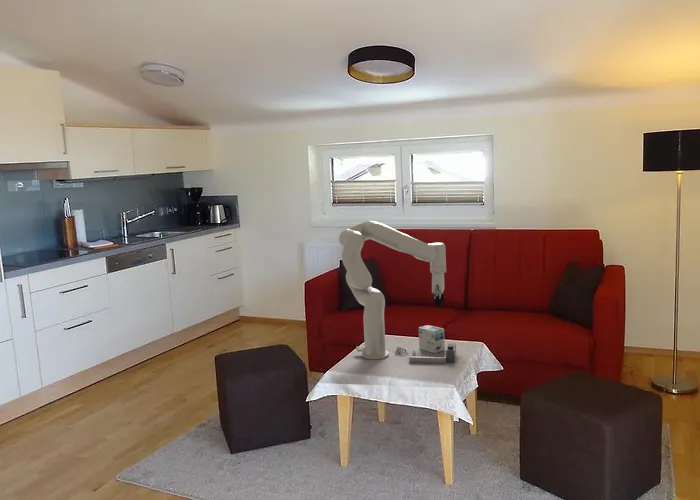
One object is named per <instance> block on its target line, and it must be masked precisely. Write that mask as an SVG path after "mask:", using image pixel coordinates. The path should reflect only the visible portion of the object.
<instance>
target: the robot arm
mask: <svg viewBox="0 0 700 500" xmlns="http://www.w3.org/2000/svg"><path fill="white" fill-rule="evenodd" d="M369 240H372V241H374V242H376V243H379V244H380V245H383V246H385V247H388V248H389V249H393V250H395V251H397V252H401V253H405V254H408V255H411V256H412V257H414V258H415V259H417V260H420V261H424V262H426V263H427V262H428V263H429V272H430V273H431V294H434V300H433V301H434V307H437V308H438V307H439V308H441V307H442V303H444V302H445V293H444V291H445V273H447V259H446V258H447V257H446V255H447V254H446V253H447V251H446V244H445V243H444V242H431V243H427V242H424V241H422V240H419V239H417V238H414V237H413V236H410V235H409V234H406V233H403V232H401V231H399V230H397V229H395V228H393V227H390V226H388V225H386V224H384V223H381V222H379V221H374V220H367V221H365V222H362V223H359V224H357V225H354V226H351V227H348V228H346V229H343V230H342V231H341V232H340V234H339V237H338V241H339V243H340V245H341V246H342V247H343V248H342V254H341V260H342V261H341V262H342V265H343V266H344V268H345V270H346V273H345V281H346V283H347V286H348V287H349V289H350V290H351V292H352V294H353V296H354V298H355V300H356V301H357V302H358V304H360V305H362V306H364V309H363V317H362V318H363V320H362V321H363V336H364V337H363V338H364V345H362V346H360V345H359V346H357V345H356V347H355V351H357V352H358V353H359V352H360V353H361V352H362V353H361V357H362V358H364V359H366V360H382V359H385V358H388V357H389V356H390V353H389V351H388V350H386V335H385V334H386V332H385V331H386V330H385V307H386V299H385V295H384V294H383V293H382V291H380V290H379V289H377V288H374V287H373V286H372V285H373V284H372V283H373V278H372V275H371V273H370V271H369V269H368V268H367V266H366V264H365V263H364V261H363V259H362V255H361V251H362V249H363V247H364V244H365V241H369Z"/></svg>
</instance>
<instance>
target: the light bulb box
mask: <svg viewBox="0 0 700 500" xmlns="http://www.w3.org/2000/svg"><path fill="white" fill-rule="evenodd" d="M445 343H446V342H445V328H443V327H438V326H434V325H429V324H427V325H423V326H419V327H418V344H419V345H418V347H419V350H422V351H426V352H429V353H433V354H438V353H441V352H444V351H446V350H445V349H446V346H445V345H446V344H445Z"/></svg>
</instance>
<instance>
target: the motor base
mask: <svg viewBox="0 0 700 500" xmlns="http://www.w3.org/2000/svg"><path fill="white" fill-rule="evenodd" d="M445 349H446V350H445V352H444V356H442V357H441V356H415V355H416V350H415V349H414V350H412V352H411V354H410V355H409V357H408V360H409V361H408V363H410V364H413V363H414V364H442V365H443V364H444V365H445V364H447V363H451V364H452V363H455V361H456V357H457V343H456V342H448V343H447V345H446V348H445Z"/></svg>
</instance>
